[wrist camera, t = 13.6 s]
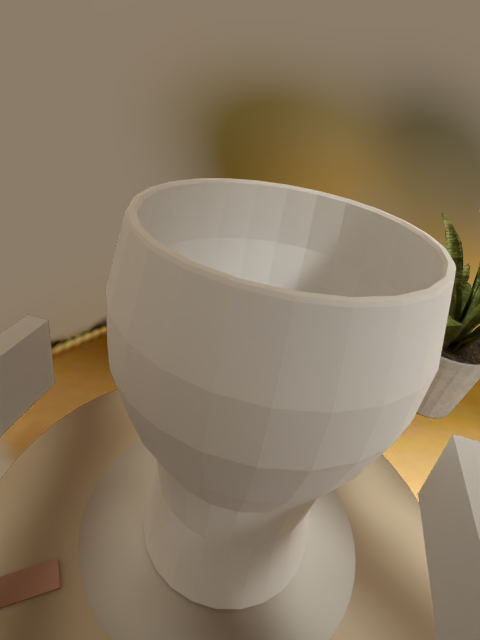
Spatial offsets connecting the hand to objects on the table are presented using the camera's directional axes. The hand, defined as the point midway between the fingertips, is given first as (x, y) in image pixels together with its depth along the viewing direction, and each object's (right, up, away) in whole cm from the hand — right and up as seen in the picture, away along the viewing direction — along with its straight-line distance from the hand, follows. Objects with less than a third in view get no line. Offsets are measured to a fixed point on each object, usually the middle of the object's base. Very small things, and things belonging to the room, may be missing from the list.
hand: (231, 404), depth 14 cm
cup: (0, -7, +7) cm, 10 cm away
